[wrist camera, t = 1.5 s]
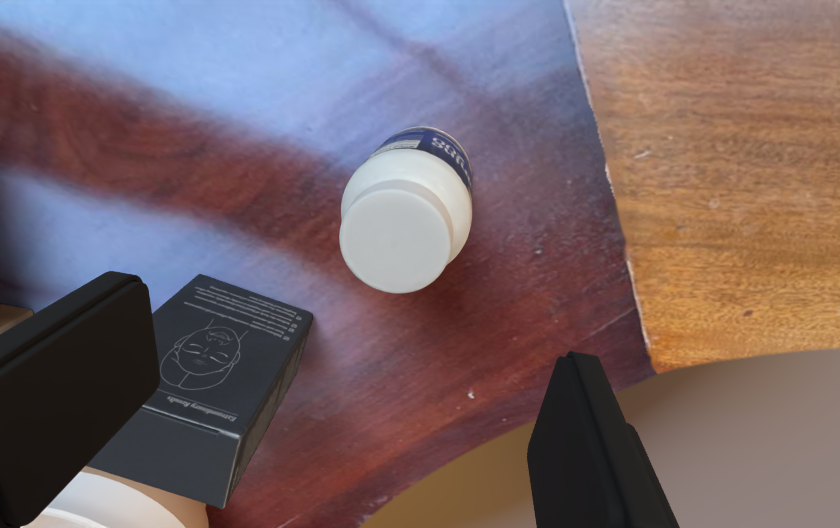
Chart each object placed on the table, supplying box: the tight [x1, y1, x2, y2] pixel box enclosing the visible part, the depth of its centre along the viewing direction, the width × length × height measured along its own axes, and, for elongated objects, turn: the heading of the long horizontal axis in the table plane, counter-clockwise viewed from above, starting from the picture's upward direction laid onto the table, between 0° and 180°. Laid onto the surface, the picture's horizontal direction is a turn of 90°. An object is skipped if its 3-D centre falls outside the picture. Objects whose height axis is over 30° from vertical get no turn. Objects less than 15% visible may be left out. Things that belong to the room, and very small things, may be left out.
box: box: [86, 274, 313, 509], centre depth 25 cm, size 8×6×11 cm
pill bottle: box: [339, 126, 472, 293], centre depth 20 cm, size 5×5×10 cm
